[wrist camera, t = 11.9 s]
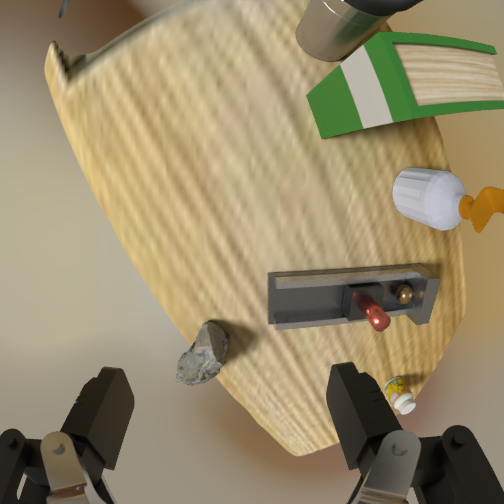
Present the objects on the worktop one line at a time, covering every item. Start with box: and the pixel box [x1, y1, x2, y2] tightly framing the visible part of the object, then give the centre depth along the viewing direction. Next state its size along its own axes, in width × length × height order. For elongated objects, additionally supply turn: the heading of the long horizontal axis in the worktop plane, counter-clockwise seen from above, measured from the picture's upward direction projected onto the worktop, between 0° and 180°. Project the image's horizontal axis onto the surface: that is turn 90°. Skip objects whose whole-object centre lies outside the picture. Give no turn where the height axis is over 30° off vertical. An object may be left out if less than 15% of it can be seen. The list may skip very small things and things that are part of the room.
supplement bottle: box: [384, 377, 416, 414], centre depth 52 cm, size 5×5×10 cm
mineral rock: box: [176, 322, 230, 386], centre depth 44 cm, size 13×11×10 cm
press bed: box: [268, 263, 440, 330], centre depth 43 cm, size 9×30×8 cm, turn 91°
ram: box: [342, 282, 391, 332], centre depth 41 cm, size 6×6×10 cm
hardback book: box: [306, 32, 504, 139], centre depth 26 cm, size 18×7×24 cm, turn 109°
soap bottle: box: [392, 168, 504, 233], centre depth 30 cm, size 9×9×25 cm
